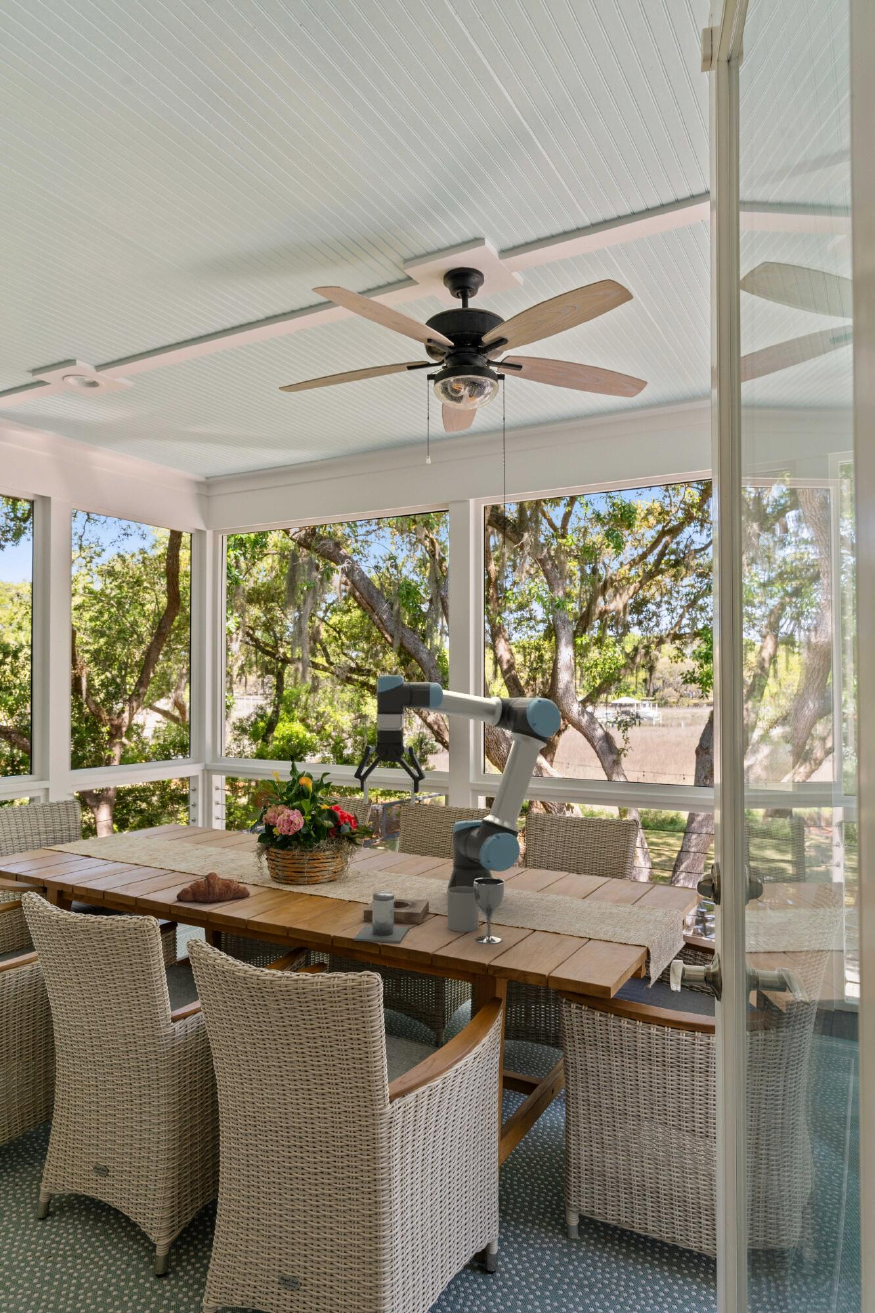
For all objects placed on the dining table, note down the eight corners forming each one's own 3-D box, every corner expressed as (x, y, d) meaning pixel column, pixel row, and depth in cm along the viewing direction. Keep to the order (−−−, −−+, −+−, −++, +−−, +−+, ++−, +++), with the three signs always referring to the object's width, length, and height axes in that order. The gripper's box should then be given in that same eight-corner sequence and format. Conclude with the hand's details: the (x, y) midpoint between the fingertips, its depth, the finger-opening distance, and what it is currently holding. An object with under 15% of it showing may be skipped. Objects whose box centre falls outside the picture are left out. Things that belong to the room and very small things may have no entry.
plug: (395, 930, 219) (396, 892, 220) (390, 936, 214) (391, 897, 214) (375, 928, 221) (376, 890, 221) (369, 934, 215) (370, 896, 215)
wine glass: (502, 935, 218) (502, 877, 218) (506, 944, 210) (506, 884, 210) (472, 935, 218) (472, 877, 218) (474, 944, 210) (475, 884, 210)
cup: (460, 921, 231) (460, 884, 231) (484, 926, 225) (484, 889, 226) (441, 927, 224) (441, 890, 225) (465, 933, 219) (465, 895, 219)
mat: (408, 929, 222) (408, 927, 222) (399, 943, 210) (399, 940, 210) (365, 927, 224) (365, 925, 224) (353, 940, 212) (353, 938, 212)
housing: (428, 910, 242) (428, 900, 242) (420, 923, 228) (420, 912, 228) (375, 907, 244) (375, 897, 244) (363, 920, 230) (363, 910, 230)
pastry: (218, 890, 265) (218, 865, 266) (252, 897, 257) (252, 871, 257) (175, 901, 251) (175, 874, 252) (209, 909, 243) (209, 881, 243)
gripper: (435, 729, 238) (434, 803, 237) (351, 728, 242) (350, 801, 241) (431, 730, 231) (430, 807, 230) (344, 729, 235) (343, 804, 234)
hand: (389, 804), depth 235 cm, fingers open, 13 cm apart
